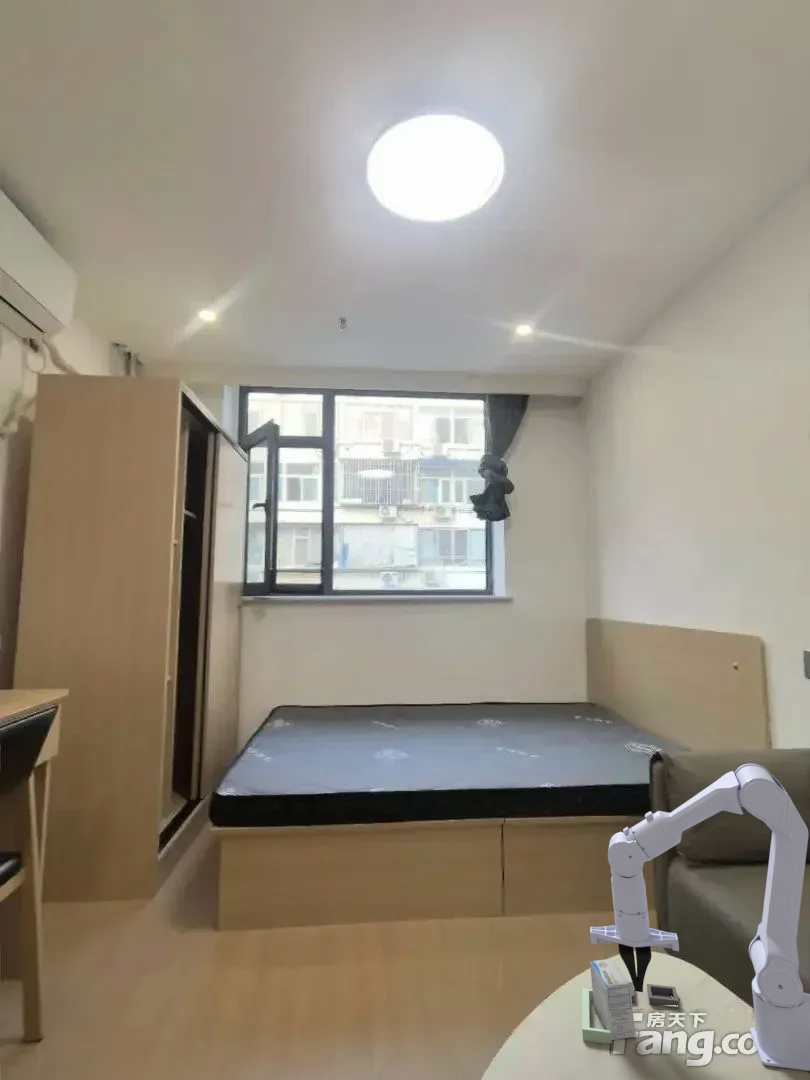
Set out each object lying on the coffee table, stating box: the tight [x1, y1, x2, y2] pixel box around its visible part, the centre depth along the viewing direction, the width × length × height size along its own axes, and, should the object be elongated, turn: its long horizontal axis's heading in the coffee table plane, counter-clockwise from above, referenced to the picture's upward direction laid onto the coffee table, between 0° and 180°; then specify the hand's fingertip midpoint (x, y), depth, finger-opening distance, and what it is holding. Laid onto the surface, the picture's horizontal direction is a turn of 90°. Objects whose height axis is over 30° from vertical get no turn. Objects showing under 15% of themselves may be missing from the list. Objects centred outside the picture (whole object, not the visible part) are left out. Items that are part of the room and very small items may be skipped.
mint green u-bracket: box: [581, 987, 612, 1045], centre depth 109 cm, size 5×11×2 cm, turn 164°
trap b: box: [628, 981, 636, 1004], centre depth 116 cm, size 5×4×1 cm
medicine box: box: [589, 958, 636, 1041], centre depth 108 cm, size 8×4×9 cm, turn 4°
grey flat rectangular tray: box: [646, 983, 680, 1006], centre depth 114 cm, size 5×4×1 cm
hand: (638, 988), depth 108 cm, fingers closed
